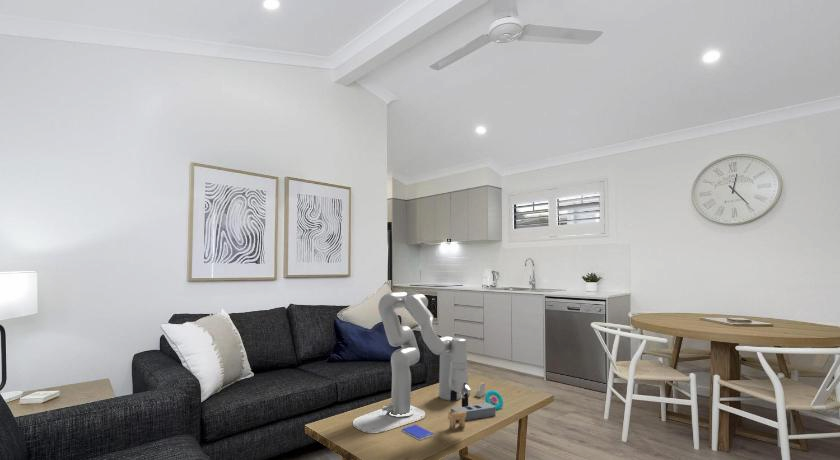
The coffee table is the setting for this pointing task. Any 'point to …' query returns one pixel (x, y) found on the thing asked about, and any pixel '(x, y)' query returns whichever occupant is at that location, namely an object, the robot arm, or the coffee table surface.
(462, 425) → the clip
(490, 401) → the ornament
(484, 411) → the grey slotted block
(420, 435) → the hard drive
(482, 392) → the architectural model
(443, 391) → the cylinder vase
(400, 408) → the robot arm
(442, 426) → the coffee table surface
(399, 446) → the coffee table surface
